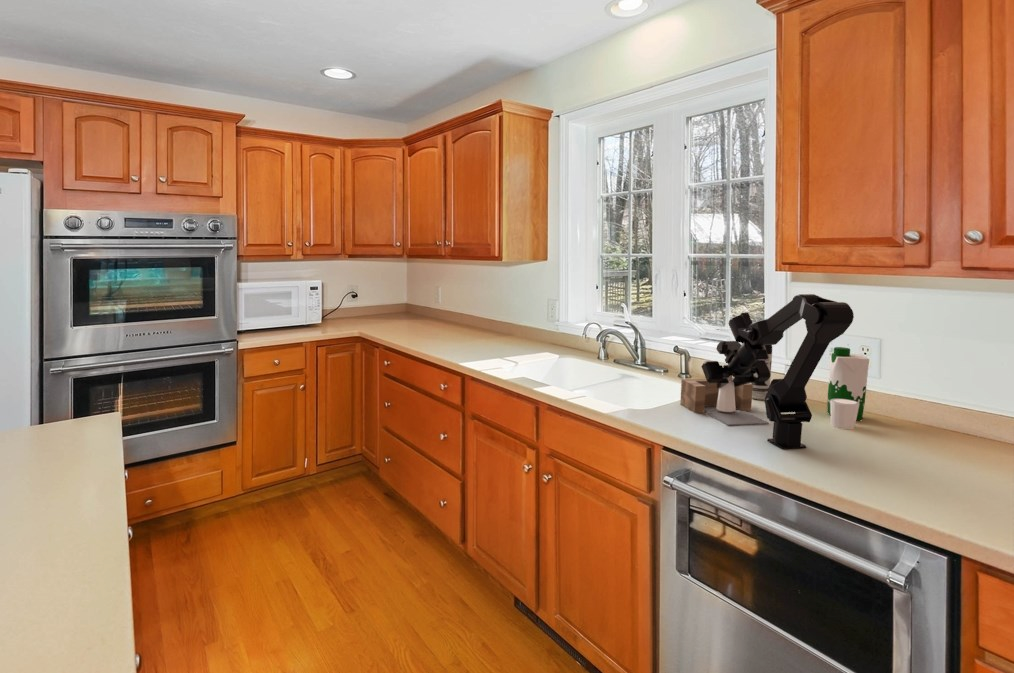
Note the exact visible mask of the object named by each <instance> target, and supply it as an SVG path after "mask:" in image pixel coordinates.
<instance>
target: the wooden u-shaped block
mask: <svg viewBox="0 0 1014 673" xmlns="http://www.w3.org/2000/svg"><path fill="white" fill-rule="evenodd" d="M733 379H734V377H732V380H733ZM680 383H681V384H680V385H681V386H680V406H682V407H684V408H686V409H687V408H688V410H689V411H691V412H692V411H693V413H694V414H695V413H705V407H716V406H717V400H718V393H719V388H717V383H709V382H707V380H706V378H685V379H684V378H683V379H681V382H680ZM752 389H753V384H750V383H748V384H744V385H741V386H737V387H734V391H735V408H736V409H737V410H738V411H746V412H747V411H752V402H753V399H752Z"/></svg>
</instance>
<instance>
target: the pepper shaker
mask: <svg viewBox="0 0 1014 673" xmlns="http://www.w3.org/2000/svg"><path fill="white" fill-rule="evenodd" d="M732 378H733V376H729V378H728V381H729V383H728V384H726V385H725V386H723V387H721V388H719V393H718V400H717V406H715V407H716V408H715V409H716V410H717V412H734V411H737V410H736V409H737V408H735V391H734V382H732Z"/></svg>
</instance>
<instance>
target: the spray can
mask: <svg viewBox="0 0 1014 673" xmlns="http://www.w3.org/2000/svg"><path fill="white" fill-rule="evenodd" d="M764 346H765V348H766V350H767V354H768V359H758V360H765V362H766V364H767V366H768V368H769V370H770V372H771V373H772V364H773V363H772V361H773V360H772V359H773V345H764ZM757 377H758V375H757V373H755V375H754V379H755V382H752V383H750V384H753V389H752V400H756V399H757V400H758V401H765V397H766V394H767V391H766V390H767V389H768V388H769V386H770V383H771V377H770V378H769V379H768V381H758V380H757ZM757 400H756V401H757Z"/></svg>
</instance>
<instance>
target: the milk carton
mask: <svg viewBox="0 0 1014 673" xmlns="http://www.w3.org/2000/svg"><path fill="white" fill-rule="evenodd" d="M869 363H870V358H868V357H866V356H864V355H863V354H859V353H858V354H855V353H854V354H853V353H851V348H850V347H842V346H840V347H839V346H836V347H833V352H831V353H830V362H829V364H830V365H829V378H828V388H827V390H828V391H827V401H826V404H827V410H826V412H828V413H829V414H830V415H831V410H830V400H831V399H848V400H853V401H856V402H859V403H860V404H859V409H858V414H857V418H856V420H862V421H863V417H864V416H863V415H864V410H865V405H866V397H867V396H866V394H867V385H868V371H869ZM828 413H827V414H828ZM829 414H828V415H829ZM830 415H829V416H830Z"/></svg>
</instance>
